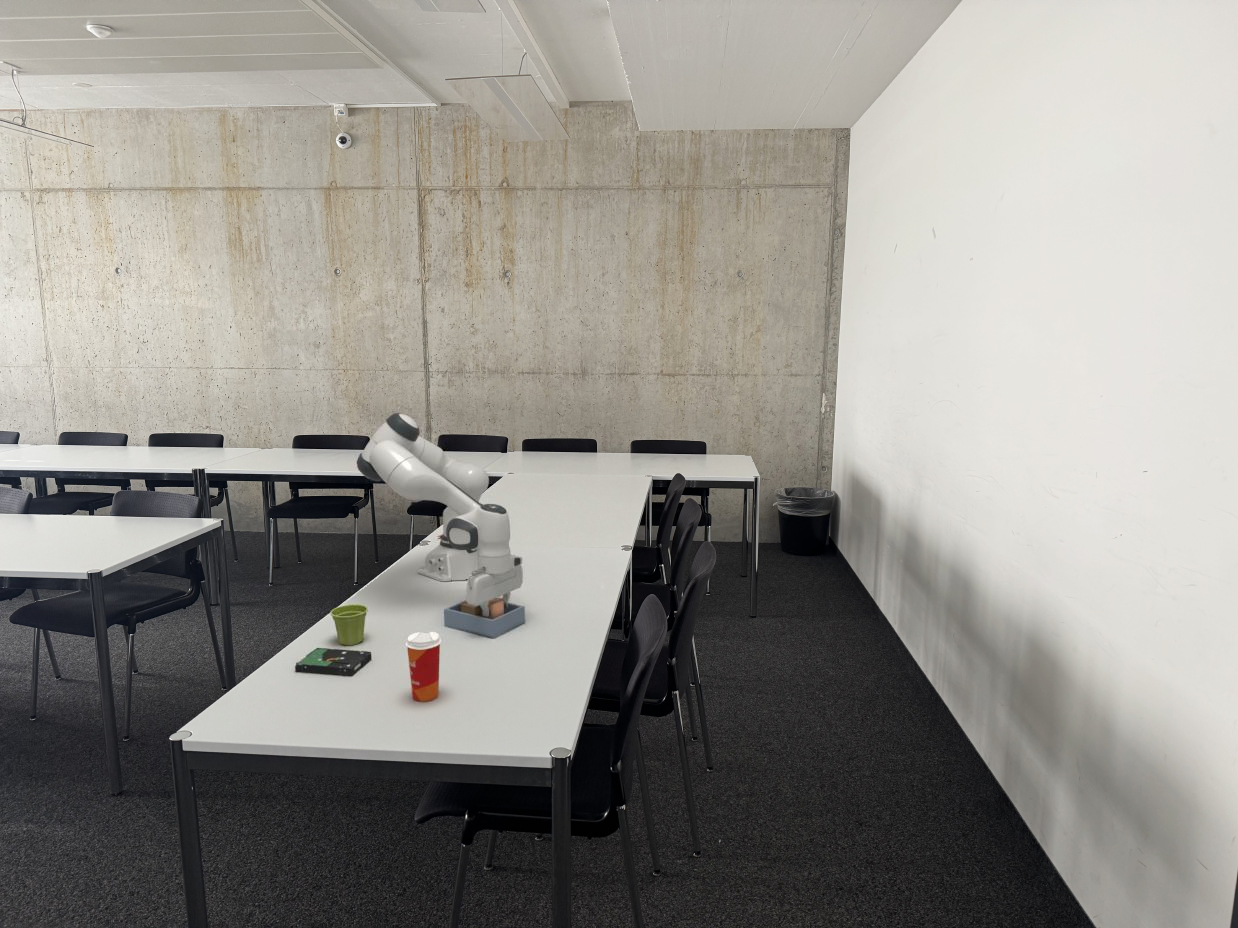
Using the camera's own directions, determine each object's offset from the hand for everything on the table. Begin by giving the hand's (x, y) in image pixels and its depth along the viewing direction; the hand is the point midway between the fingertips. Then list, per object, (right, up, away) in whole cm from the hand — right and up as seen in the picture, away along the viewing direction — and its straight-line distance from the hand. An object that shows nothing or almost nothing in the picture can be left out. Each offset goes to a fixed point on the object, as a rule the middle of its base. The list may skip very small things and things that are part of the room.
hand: (495, 611), depth 216 cm
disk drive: (-36, -9, -25) cm, 44 cm away
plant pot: (-37, -6, -10) cm, 39 cm away
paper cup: (-9, -11, -41) cm, 44 cm away
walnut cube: (-7, -3, +5) cm, 9 cm away
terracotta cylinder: (0, -4, +1) cm, 4 cm away
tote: (-3, -4, +3) cm, 6 cm away
